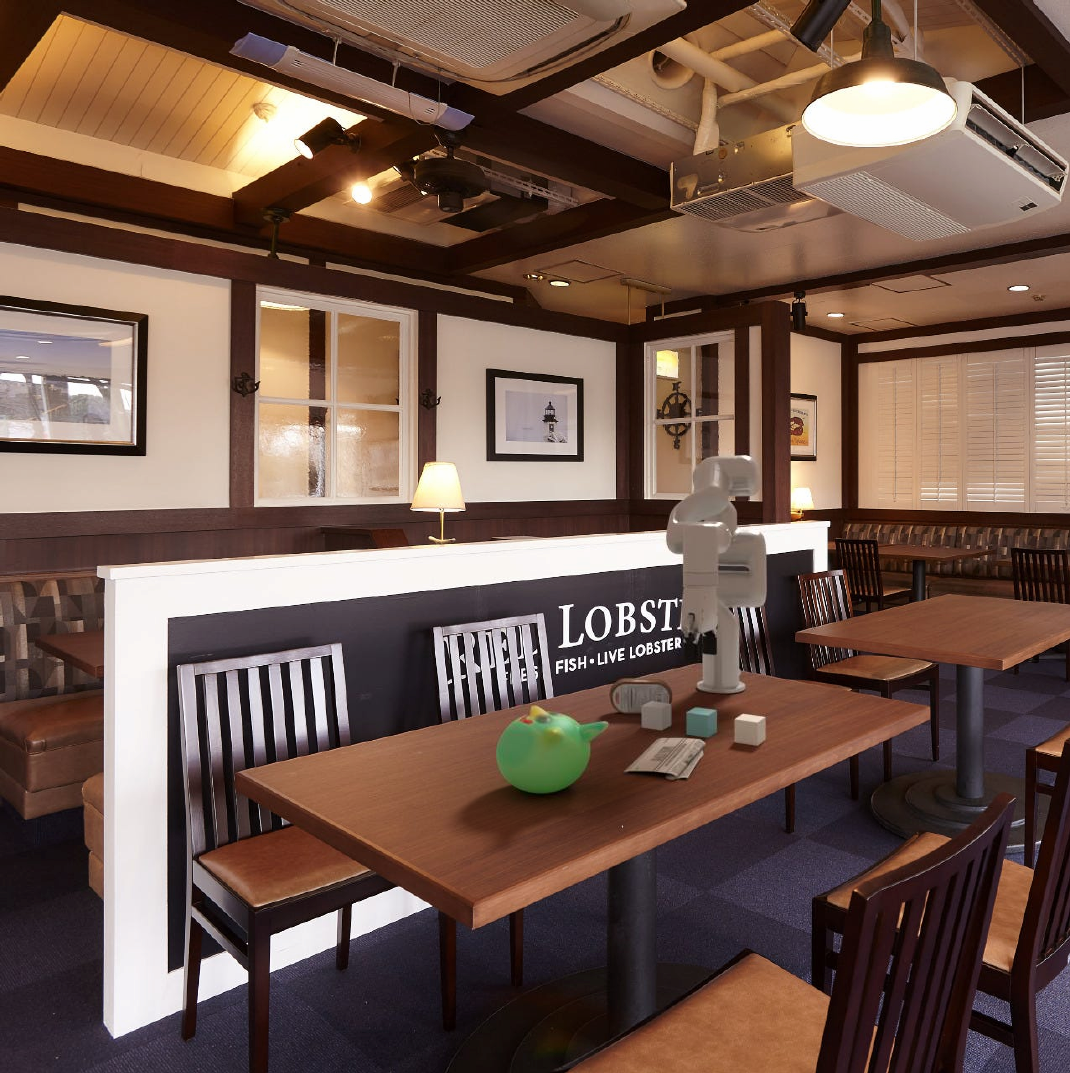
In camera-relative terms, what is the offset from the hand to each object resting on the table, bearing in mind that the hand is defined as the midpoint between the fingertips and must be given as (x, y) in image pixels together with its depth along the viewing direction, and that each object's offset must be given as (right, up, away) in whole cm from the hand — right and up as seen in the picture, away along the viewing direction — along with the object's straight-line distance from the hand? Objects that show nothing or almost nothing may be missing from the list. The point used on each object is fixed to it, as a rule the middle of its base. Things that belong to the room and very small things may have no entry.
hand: (701, 658), depth 186 cm
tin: (-11, -16, +19) cm, 27 cm away
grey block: (-9, -17, +7) cm, 20 cm away
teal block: (0, -17, +1) cm, 17 cm away
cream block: (+9, -17, -5) cm, 20 cm away
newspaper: (-9, -19, -16) cm, 26 cm away
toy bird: (-34, -20, -32) cm, 51 cm away
